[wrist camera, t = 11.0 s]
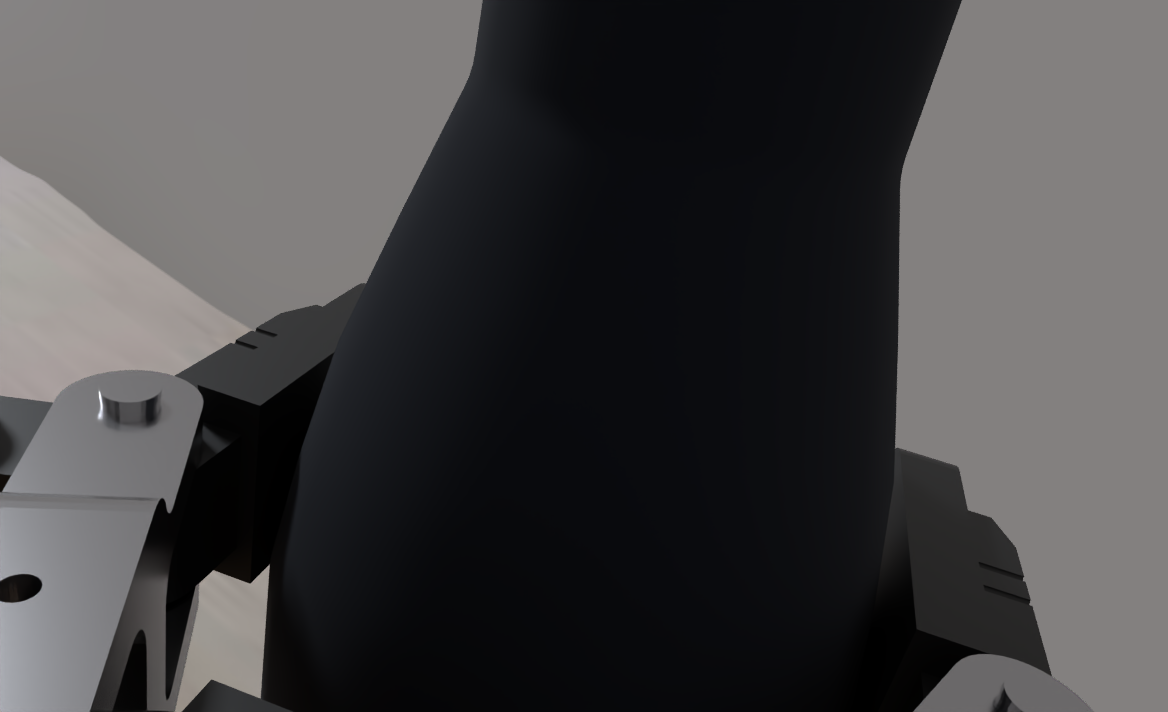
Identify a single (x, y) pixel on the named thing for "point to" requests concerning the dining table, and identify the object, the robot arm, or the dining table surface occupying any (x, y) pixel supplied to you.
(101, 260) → the dining table surface
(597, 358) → the wine bottle
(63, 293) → the dining table surface
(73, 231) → the dining table surface
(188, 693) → the dining table surface
